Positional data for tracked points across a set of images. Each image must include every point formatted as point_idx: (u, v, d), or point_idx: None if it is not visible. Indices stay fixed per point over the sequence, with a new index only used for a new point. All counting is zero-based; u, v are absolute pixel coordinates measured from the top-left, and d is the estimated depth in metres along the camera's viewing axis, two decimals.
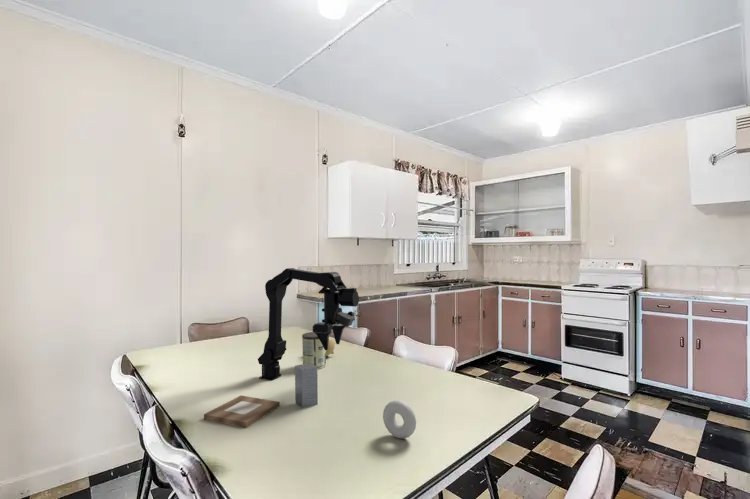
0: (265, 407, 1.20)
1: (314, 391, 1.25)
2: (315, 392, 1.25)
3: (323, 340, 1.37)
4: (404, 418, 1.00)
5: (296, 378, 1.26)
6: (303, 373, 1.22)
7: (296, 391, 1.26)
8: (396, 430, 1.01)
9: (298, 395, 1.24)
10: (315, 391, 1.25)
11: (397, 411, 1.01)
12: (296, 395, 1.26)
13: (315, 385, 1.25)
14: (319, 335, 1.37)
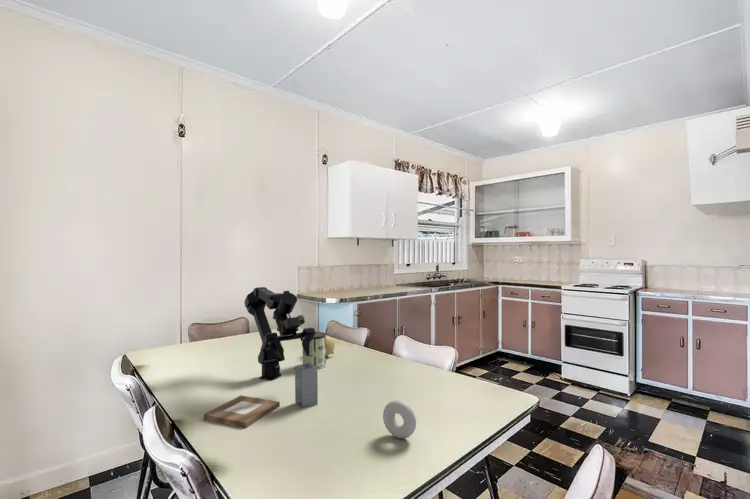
0: (265, 407, 1.20)
1: (314, 391, 1.25)
2: (315, 392, 1.25)
3: (277, 351, 1.32)
4: (404, 418, 1.00)
5: (296, 378, 1.26)
6: (303, 373, 1.22)
7: (296, 391, 1.26)
8: (396, 430, 1.01)
9: (298, 395, 1.24)
10: (315, 391, 1.25)
11: (397, 411, 1.01)
12: (296, 395, 1.26)
13: (315, 385, 1.25)
14: (273, 349, 1.33)
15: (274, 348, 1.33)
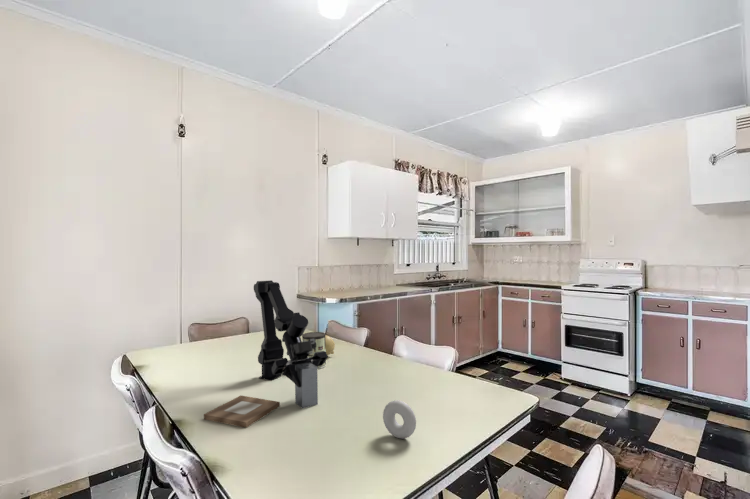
0: (265, 407, 1.20)
1: (314, 391, 1.25)
2: (315, 392, 1.25)
3: (292, 377, 1.25)
4: (404, 418, 1.00)
5: None
6: (303, 373, 1.22)
7: (296, 391, 1.26)
8: (396, 430, 1.01)
9: (298, 395, 1.24)
10: (315, 391, 1.25)
11: (397, 411, 1.01)
12: (296, 395, 1.26)
13: (315, 385, 1.25)
14: (288, 375, 1.26)
15: (289, 374, 1.26)
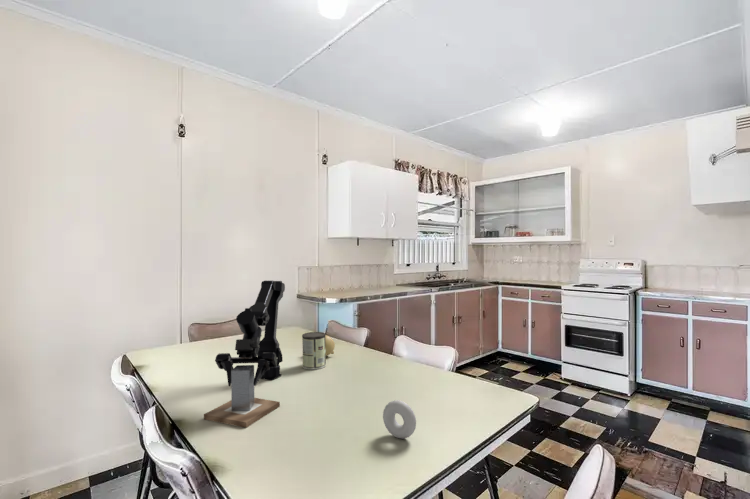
0: (265, 407, 1.20)
1: (246, 396, 1.17)
2: (246, 397, 1.17)
3: None
4: (404, 418, 1.00)
5: None
6: (232, 374, 1.16)
7: None
8: (396, 430, 1.01)
9: None
10: (247, 396, 1.17)
11: (397, 411, 1.01)
12: None
13: (247, 390, 1.17)
14: None
15: None
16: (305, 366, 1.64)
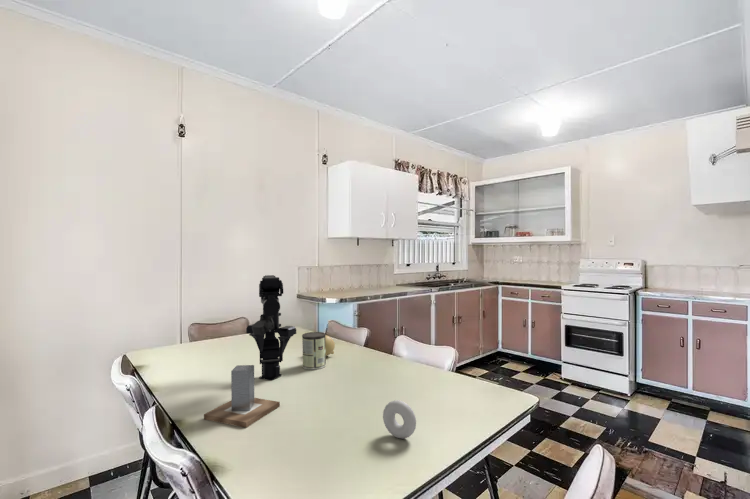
0: (265, 407, 1.20)
1: (246, 396, 1.17)
2: (246, 397, 1.17)
3: None
4: (404, 418, 1.00)
5: None
6: (232, 374, 1.16)
7: None
8: (396, 430, 1.01)
9: None
10: (247, 396, 1.17)
11: (397, 411, 1.01)
12: None
13: (247, 390, 1.17)
14: None
15: None
16: (305, 366, 1.64)
